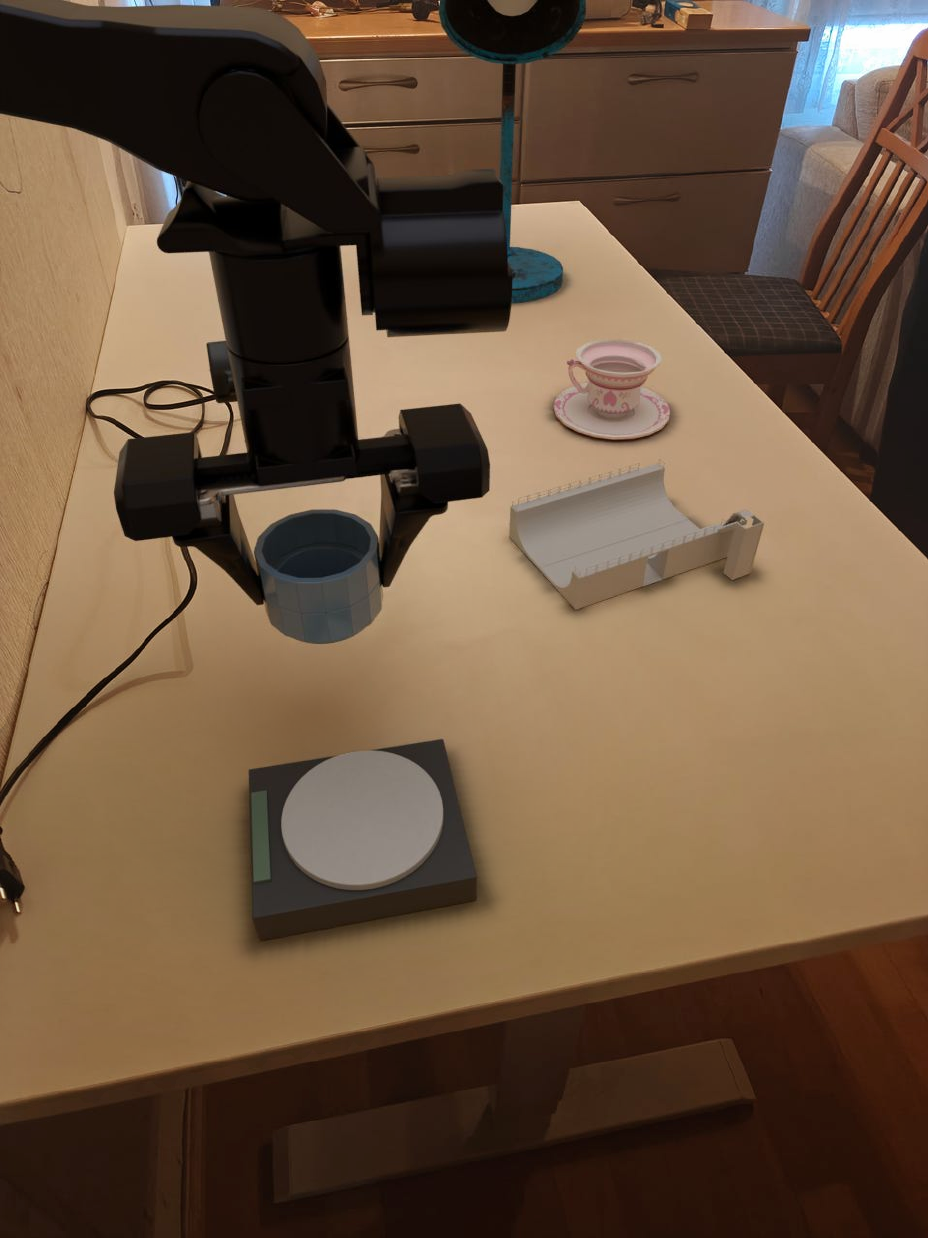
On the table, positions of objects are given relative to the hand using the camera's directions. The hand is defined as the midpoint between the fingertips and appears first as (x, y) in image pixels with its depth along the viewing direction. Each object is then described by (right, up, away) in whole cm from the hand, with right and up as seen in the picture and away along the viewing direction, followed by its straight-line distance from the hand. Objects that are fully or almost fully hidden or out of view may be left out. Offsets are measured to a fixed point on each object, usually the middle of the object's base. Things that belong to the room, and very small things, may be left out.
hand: (323, 591), depth 51 cm
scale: (+2, -15, 0) cm, 15 cm away
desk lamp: (+14, +43, +65) cm, 79 cm away
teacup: (+24, +20, +39) cm, 50 cm away
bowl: (0, -1, +1) cm, 2 cm away
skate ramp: (+22, +3, +21) cm, 31 cm away
